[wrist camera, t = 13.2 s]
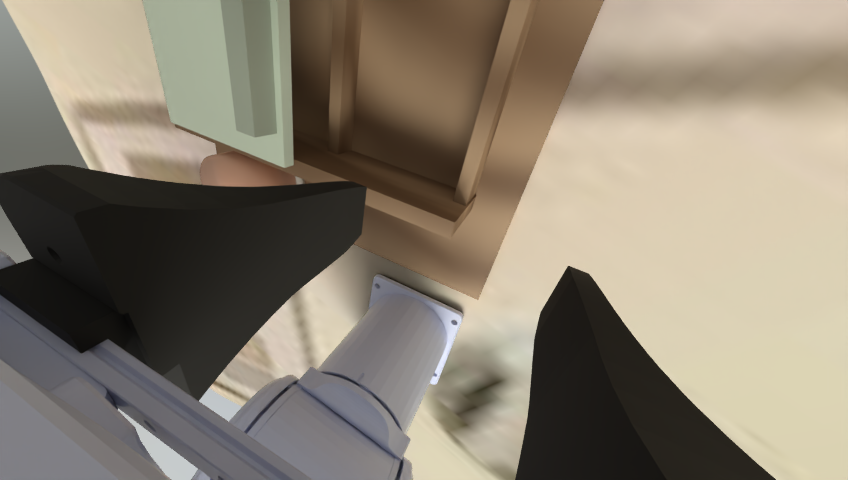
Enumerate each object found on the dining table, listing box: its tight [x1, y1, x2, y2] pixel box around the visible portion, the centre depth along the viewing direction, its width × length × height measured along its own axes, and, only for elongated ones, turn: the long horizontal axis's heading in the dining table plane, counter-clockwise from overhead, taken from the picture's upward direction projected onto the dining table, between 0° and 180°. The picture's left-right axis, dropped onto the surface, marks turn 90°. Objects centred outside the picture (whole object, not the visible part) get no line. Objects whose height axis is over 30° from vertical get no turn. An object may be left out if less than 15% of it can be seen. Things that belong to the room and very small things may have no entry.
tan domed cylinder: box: [200, 151, 296, 187], centre depth 23 cm, size 5×5×4 cm
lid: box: [142, 0, 294, 168], centre depth 15 cm, size 12×9×2 cm
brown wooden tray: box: [175, 0, 604, 300], centre depth 18 cm, size 20×25×5 cm
